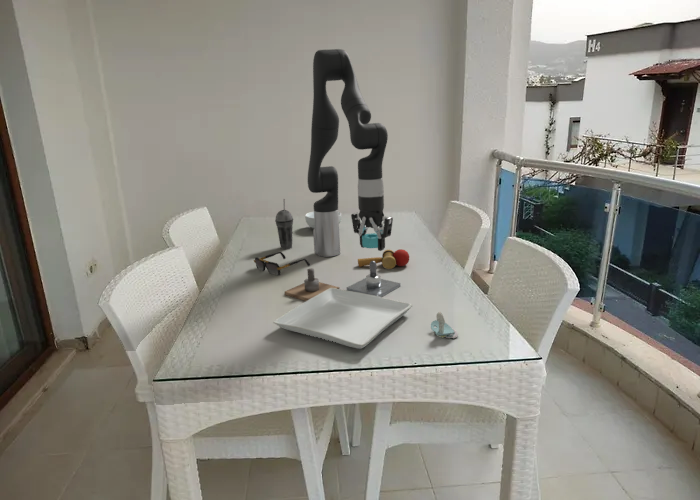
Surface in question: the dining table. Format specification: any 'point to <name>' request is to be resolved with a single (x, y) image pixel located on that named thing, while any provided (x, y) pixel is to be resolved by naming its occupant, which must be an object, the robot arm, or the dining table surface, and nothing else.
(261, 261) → the sunglasses
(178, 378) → the dining table surface
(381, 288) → the hub
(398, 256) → the kendama
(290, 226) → the beverage cup
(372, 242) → the ring
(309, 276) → the rod stand
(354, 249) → the dining table surface
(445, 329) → the pacifier
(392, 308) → the square plate
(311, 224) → the cereal bowl
